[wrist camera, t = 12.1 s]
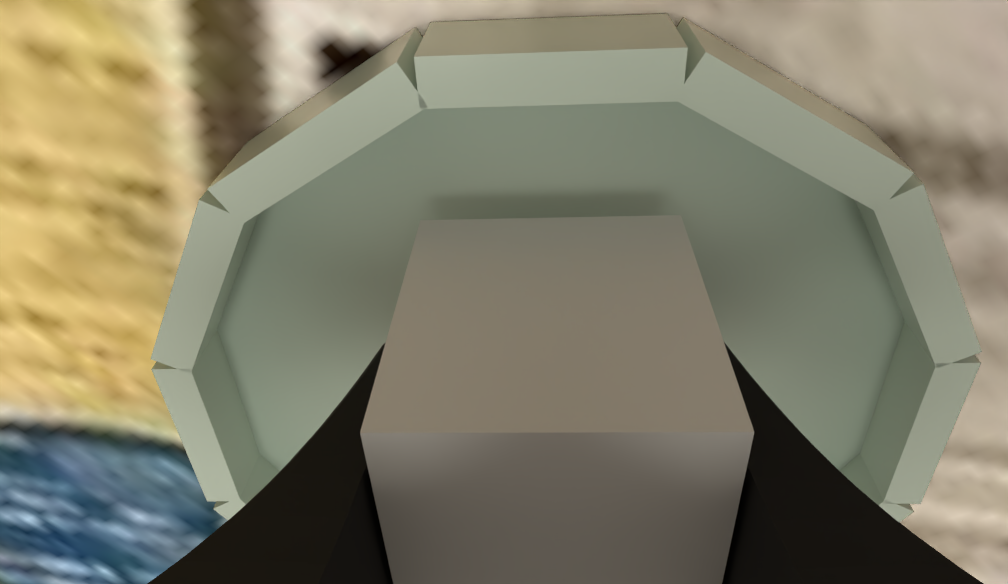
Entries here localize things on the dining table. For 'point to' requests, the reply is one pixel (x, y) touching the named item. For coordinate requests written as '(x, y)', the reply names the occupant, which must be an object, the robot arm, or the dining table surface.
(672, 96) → the serving bowl
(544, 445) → the grey stone block
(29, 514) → the dining table surface
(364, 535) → the robot arm
